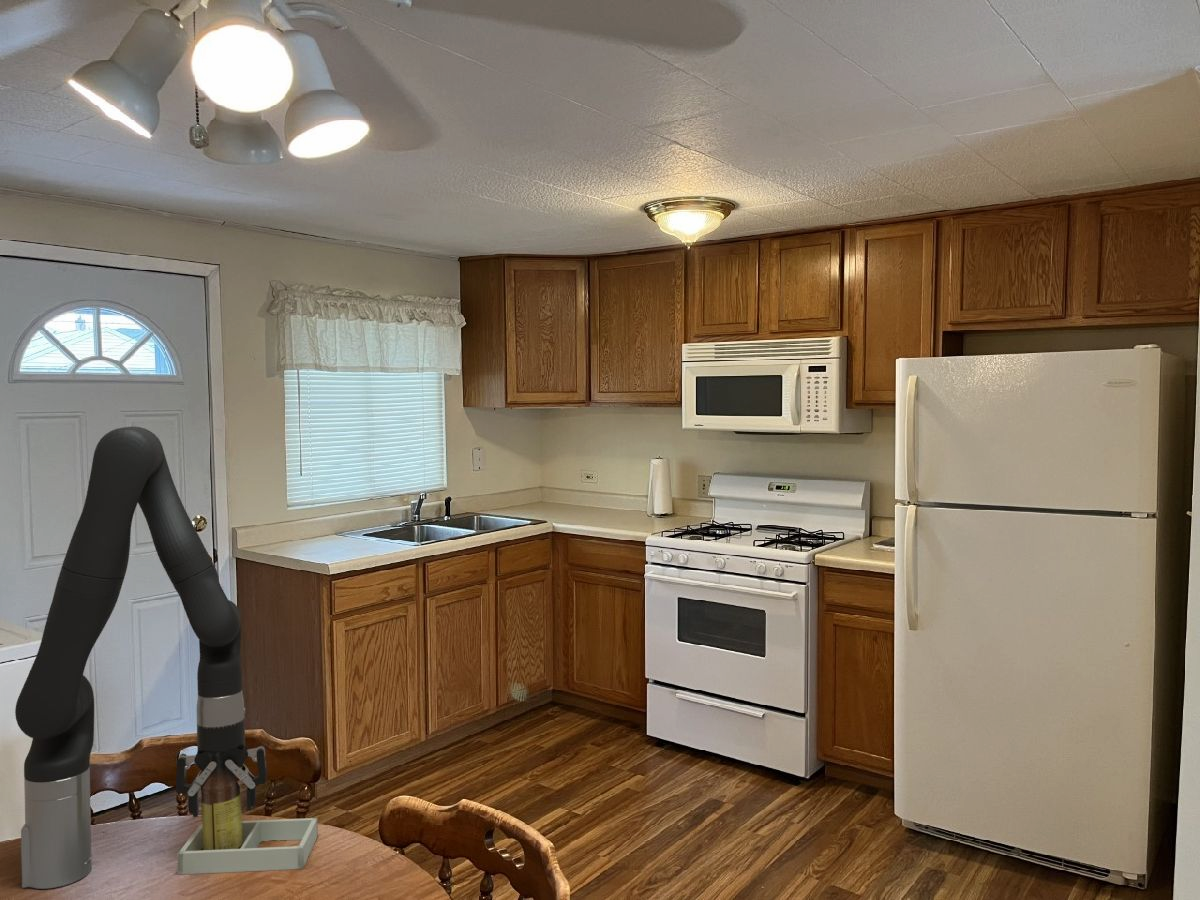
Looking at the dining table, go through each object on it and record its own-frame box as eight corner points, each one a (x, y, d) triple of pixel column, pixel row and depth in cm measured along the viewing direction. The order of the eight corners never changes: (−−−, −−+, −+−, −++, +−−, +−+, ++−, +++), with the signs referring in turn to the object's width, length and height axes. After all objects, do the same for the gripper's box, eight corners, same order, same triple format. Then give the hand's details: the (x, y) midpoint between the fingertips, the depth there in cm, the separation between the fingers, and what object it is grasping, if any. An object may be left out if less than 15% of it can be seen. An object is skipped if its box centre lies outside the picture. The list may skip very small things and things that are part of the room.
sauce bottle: (249, 848, 158) (248, 736, 157) (231, 866, 152) (229, 749, 151) (213, 847, 159) (212, 734, 158) (194, 864, 152) (192, 747, 152)
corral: (177, 874, 149) (177, 853, 149) (201, 842, 161) (201, 822, 160) (302, 868, 151) (302, 848, 151) (317, 837, 162) (317, 817, 162)
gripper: (171, 729, 149) (174, 827, 149) (264, 720, 153) (266, 815, 154) (178, 715, 156) (180, 808, 156) (266, 707, 160) (268, 797, 161)
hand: (223, 811), depth 155 cm, fingers open, 8 cm apart
